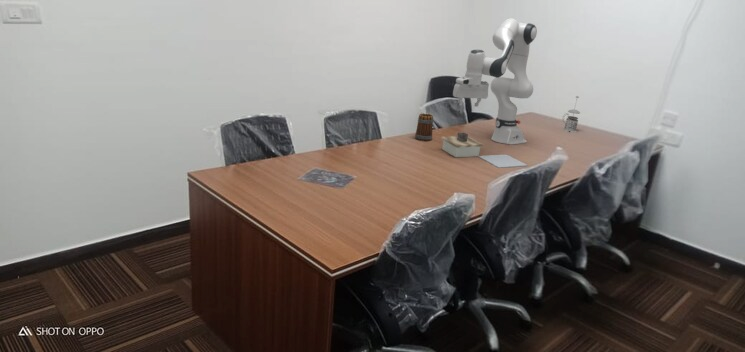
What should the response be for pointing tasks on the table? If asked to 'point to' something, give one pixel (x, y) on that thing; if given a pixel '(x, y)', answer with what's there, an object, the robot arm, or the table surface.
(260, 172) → the table surface
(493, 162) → the mat
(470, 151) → the pale green open box
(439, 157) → the table surface
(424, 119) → the mug
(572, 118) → the french press
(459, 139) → the lid
